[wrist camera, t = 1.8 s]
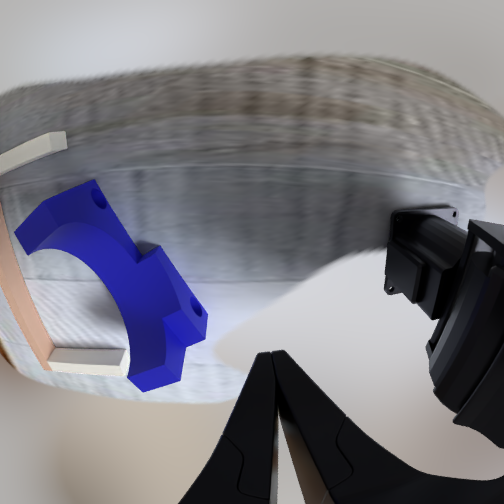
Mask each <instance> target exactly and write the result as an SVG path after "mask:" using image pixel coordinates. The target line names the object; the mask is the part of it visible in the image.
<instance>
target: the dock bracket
mask: <svg viewBox="0 0 504 504" xmlns="http://www.w3.org/2000/svg"><path fill="white" fill-rule="evenodd" d="M65 149H68V148H67V140H66V131H61V132H48V133H46V134H44V135H41V136H39V137H37V138H34V139H32V140H30V141H28V142H26V143H23V144H21V145H19V146H17V147H15V148H13V149H11V150H9V151H7V152H5V153H3V154H1V155H0V175H3V174H5V173H7V172H9V171H11V170H14V169H16V168H18V167H20V166H23V165H25V164H28V163H30V162H33V161H35V160H38V159H40V158H43V157H45V156H48V155H51V154H53V153H56V152H59V151H62V150H65ZM0 285H1V288H2V290H3V292H4V295H5V297H6V299H7V302H8V304H9V306H10V308H11V310H12V313H13V315H14V317H15V319H16V321H17V323H18V325H19V327H20V329H21V331H22V333H23V334H24V336H25V338H26V340H27V342H28V344H29V345H30V347H31V349H32V351H33V352H34V354H35V356H36V357H37V359H38V361H39V362H40V364H41V366H42V367H43V369H44V370H49V371H57V372H67V373H77V374H90V375H107V376H125V374H126V372H127V369H128V366H129V363H130V357H129V355H128V353H127V351H126V349H72V348H55V346H54V344H53V342H52V340H51V339H50V337H49V335H48V333H47V331H46V329H45V327H44V325H43V323H42V321H41V319H40V316H39V314H38V312H37V310H36V308H35V306H34V303H33V301H32V299H31V296H30V294H29V292H28V289H27V287H26V284H25V282H24V279H23V276H22V274H21V271H20V268H19V265H18V263H17V260H16V257H15V254H14V251H13V247H12V244H11V241H10V238H9V234H8V231H7V227H6V223H5V219H4V215H3V211H2V207H1V202H0Z"/></svg>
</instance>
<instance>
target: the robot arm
mask: <svg viewBox="0 0 504 504" xmlns="http://www.w3.org/2000/svg"><path fill="white" fill-rule="evenodd" d="M453 212H454V213H453ZM452 214H453V215H452ZM399 215H400V218H399V220H397V217H398V216H399ZM458 215H459V212H458V209H457V208H454V207H439V208H423V209H408V210H396V211H394V212H393V213H392V215H391V224H390V238H389V242H388V246H387V257H386V267H385V275H386V277H385V284H384V291H385V292H386V293H387V294H388V295H393V294H398V293H403V294H404V295H405V296H406V297H407V298H408V299H409V300H410V301H411V303H412V304H416V303H417V304H418V306H420V308H421V309H422V310H423V311H424V312H425V313H426V314H427V315H428V316H429V318H430V319H431V320H436V319H439V321H438V324H437V326H436V328H435V330H434V333H433V335H432V337H431V339H430V340H429V341H428V343H427V345H426V351H427V354H428V358H429V373H430V376H431V378H432V381H433V384H434V386H435V387H434V389H433V392H434V394H435V396H436V397H437V398H438V399H439V400H440V402H441V403H442V404H443V405H445V406H446V407H447V408H448V409H450V410H451V411H453V412H454V413H456V414H457V415H456V416H455V417H454V419H453V423H454V424H457V425H461V426H466V427H470V428H472V429H474V430H476V431H478V432H480V433H481V434H483V435H484V436H486V437H487V438H488V439H489V440H491V441H492V442H493V443H494V444H495V445H496V446H498V447H499V448H503V449H504V225H501V224H495V223H489V222H484V221H478V220H472V219H469V223H468V228H467V229H468V232H467V231H465V230H463V229H461V228H459V227H458V226H457V223H458ZM390 287H392V288H391V289H389V288H390ZM278 413H279V417H280V421H281V425H282V428H283V431H284V435H285V438H286V441H287V445H288V448H289V452H290V455H291V458H292V461H293V465H294V468H295V471H296V474H297V478H298V481H299V484H300V488H301V491H302V494H303V497H304V500H305V504H504V475H503V476H502V477H500V478H497V479H493V480H487V481H486V480H483V481H481V480H469V479H458V478H451V477H443V476H437V475H431V474H427V473H424V472H421V471H418V470H416V469H414V468H413V467H411V466H409V465H408V464H406V463H405V462H403V461H402V460H401V459H399V458H397V457H396V456H395V455H393V454H392V453H390V452H389V451H388V450H386V449H385V448H384V447H382V446H381V445H379V444H378V443H377V442H375V441H374V440H373V439H372V438H370V437H369V436H368V435H367V434H366V433H364V432H363V431H362V430H361V429H360V428H359V427H358V426H357V425H356V424H355V423H354V422H353V421H352V420H351V419H350V418H349V417H346V414H345V413H344V412H343V411H342V410H341V409H340V408H339V407H338V406H337V405H336V404H335V403H334V402H333V401H332V400H331V399H330V398H329V397H328V396H327V395H326V394H325V393H324V392H323V391H322V390H321V389H320V388H319V386H318V385H317V384H316V383H315V382H314V381H313V380H312V379H311V378H310V377H309V376H308V375H307V374H306V373H305V372H304V371H303V369H302V368H301V367H299V365H298V364H297V363H296V362H295V361H294V360H293V359H292V358H291V357H290V355H289V354H288V353H287V352H286V351H285V350H277V351H272V352H271V353H270V352H261V353H258V354H257V355H256V358H255V360H254V363H253V365H252V367H251V370H250V372H249V374H248V377H247V379H246V381H245V384H244V386H243V388H242V390H241V393H240V395H239V397H238V400H237V402H236V404H235V406H234V409H233V411H232V413H231V415H230V418H229V420H228V422H227V424H226V427H225V429H224V431H223V435H221V437H220V439H219V441H218V444H217V445H216V448H215V449H214V451H213V453H212V455H211V457H210V459H209V460H208V462H207V464H206V465H205V467H204V468H203V470H202V471H201V473H200V474H199V476H198V477H197V479H196V480H195V481H194V483H193V484H192V485H191V487H190V488H189V490H188V491H187V492H186V494H185V495H184V496H183V498H182V499H181V500H180V502H179V503H178V504H277V489H278Z"/></svg>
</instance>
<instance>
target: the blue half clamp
mask: <svg viewBox="0 0 504 504" xmlns="http://www.w3.org/2000/svg"><path fill="white" fill-rule="evenodd" d="M14 233H15V235H16V237H17V239H18V240H19V242H20V244H21V245H22V247H23V249H24V250H25V252H26V254H27V255H30V254H32V253H33V252H36V251H38V250H42V249H58V250H62V251H65V252H68V253H70V254H72V255H74V256H76V257H77V258H79V259H80V260H82V261H83V262H84V263H85V264H87V265H88V266H89V267H90V268H91V269H92V270H93V271H94V272H95V273H96V274H97V275H98V276H99V278H100V279H101V280H102V281H103V283H104V284H105V285H106V287H107V288H108V290H109V291H110V293H111V295H112V296H113V298H114V300H115V302H116V304H117V306H118V308H119V310H120V312H121V315H122V317H123V320H124V323H125V326H126V330H127V334H128V339H129V345H130V367H129V372H128V376H127V378H128V379H129V380H130V381H131V382H132V383H133V384H134V385H135V386H136V387H137V388H139V389H140V390H141V391H142V392H146V391H150V390H153V389H156V388H159V387H163V386H166V385H169V384H172V383H175V382H178V381H181V374H182V368H183V362H184V356H185V351H186V347H188V346H190V345H193V344H195V343H198V342H200V341H203V340H205V337H206V328H207V319H208V314H207V312H206V311H205V309H204V308H203V307H202V305H201V304H200V303H199V301H198V300H197V298H196V297H195V296H194V294H193V293H192V291H191V290H190V289H189V287H188V286H187V284H186V283H185V281H184V280H183V279H182V277H181V276H180V274H179V273H178V271H177V270H176V268H175V267H174V265H173V264H172V263H171V261H170V260H169V258H168V257H167V255H166V254H165V252H164V251H163V249H162V248H161V246H158V247H156V248H155V249H153V250H151V251H150V252H148V253H146V254H144V255H143V256H142V255H141V253H140V252H139V250H138V249H137V247H136V246H135V244H134V243H133V241H132V240H131V238H130V236H129V235H128V233H127V232H126V230H125V229H124V227H123V226H122V224H121V222H120V221H119V219H118V218H117V216H116V214H115V213H114V211H113V210H112V208H111V206H110V205H109V203H108V201H107V200H106V198H105V196H104V195H103V193H102V191H101V190H100V188H99V186H98V184H97V183H96V181H95V179H94V180H91V181H89V182H86V183H84V184H81V185H79V186H76V187H74V188H72V189H69V190H67V191H65V192H62V193H60V194H58V195H55V196H53V197H51V198H49V199H47V200H44V201H43V202H42V203H41V204H40V205H39V206H38V207H37V208H36V209H35V210H34V211H33V212H32V213H31V214H30V215H29V216H28V217H27V218H26V220H25V221H24V222H23V223H22V224H21V225H20V226H19V227H18V228H17V229H16V231H15V232H14Z"/></svg>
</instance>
